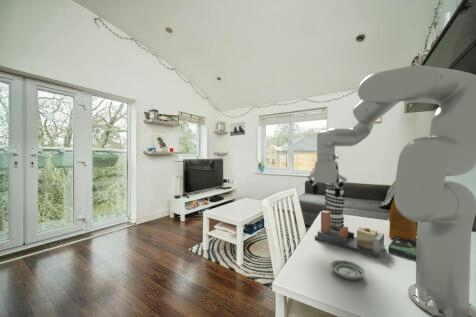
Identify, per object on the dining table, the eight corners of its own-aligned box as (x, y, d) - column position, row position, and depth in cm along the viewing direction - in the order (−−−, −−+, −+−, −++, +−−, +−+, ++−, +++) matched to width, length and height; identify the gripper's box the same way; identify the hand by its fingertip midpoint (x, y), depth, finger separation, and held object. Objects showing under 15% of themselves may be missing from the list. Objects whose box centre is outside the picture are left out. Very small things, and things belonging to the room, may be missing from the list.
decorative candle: (348, 233, 96) (349, 181, 96) (329, 233, 96) (329, 182, 96) (339, 226, 105) (339, 179, 105) (321, 226, 105) (321, 179, 105)
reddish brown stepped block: (342, 241, 84) (342, 217, 84) (319, 234, 91) (319, 212, 91) (348, 236, 89) (348, 213, 89) (325, 230, 96) (325, 209, 96)
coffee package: (421, 238, 91) (422, 190, 90) (413, 245, 84) (414, 193, 83) (395, 231, 99) (395, 187, 98) (385, 237, 92) (385, 189, 91)
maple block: (374, 249, 77) (374, 232, 77) (356, 244, 81) (356, 228, 81) (377, 245, 80) (377, 228, 80) (360, 241, 85) (360, 225, 84)
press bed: (378, 258, 73) (378, 241, 73) (314, 238, 90) (314, 224, 90) (384, 248, 81) (384, 232, 81) (324, 232, 98) (324, 219, 98)
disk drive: (394, 242, 88) (388, 253, 78) (394, 235, 88) (388, 246, 78) (426, 250, 81) (424, 263, 71) (426, 243, 81) (424, 256, 71)
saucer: (334, 263, 71) (334, 256, 71) (367, 273, 65) (367, 266, 64) (326, 276, 63) (326, 268, 63) (362, 289, 57) (362, 280, 57)
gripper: (349, 158, 88) (349, 196, 88) (311, 158, 100) (311, 192, 101) (343, 158, 83) (343, 199, 83) (304, 158, 95) (304, 194, 95)
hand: (326, 195), depth 92 cm, fingers open, 9 cm apart
